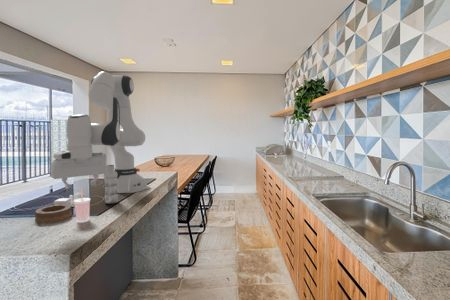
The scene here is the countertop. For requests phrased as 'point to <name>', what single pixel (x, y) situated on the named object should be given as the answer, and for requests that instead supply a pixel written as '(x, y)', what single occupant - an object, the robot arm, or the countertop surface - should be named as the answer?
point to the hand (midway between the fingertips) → (81, 186)
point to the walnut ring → (53, 213)
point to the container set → (68, 200)
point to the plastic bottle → (110, 185)
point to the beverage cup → (82, 209)
